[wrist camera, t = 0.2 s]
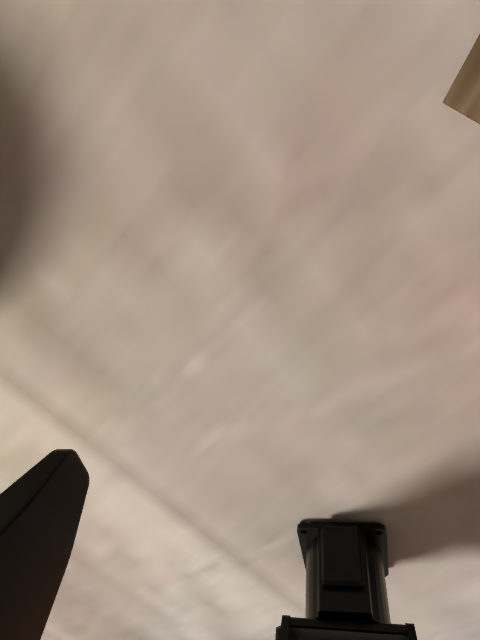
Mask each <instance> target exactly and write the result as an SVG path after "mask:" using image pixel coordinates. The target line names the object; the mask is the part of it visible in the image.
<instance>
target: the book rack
mask: <svg viewBox="0 0 480 640" xmlns="http://www.w3.org/2000/svg"><path fill="white" fill-rule="evenodd" d="M443 103H444V104H446V105H448V106H449V107H451V108H453V109H454V110H456V111H458V112H460V113H461V114H463V115H465V116H466V117H468V118H470V119H472V120H473V121H475V122H477V123H479V124H480V35H479V36H478V38H477V40H476V42H475V44H474V46H473V48H472V49H471V51H470V53H469V55H468V57H467V59H466V60H465V62H464V64H463V66H462V68H461V70H460V72H459V73H458V75H457V77H456V79H455V81H454V83H453V84H452V86H451V88H450V90H449V92H448V94H447V96H446V97H445V99H444V101H443Z"/></svg>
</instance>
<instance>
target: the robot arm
mask: <svg viewBox="0 0 480 640" xmlns="http://www.w3.org/2000/svg"><path fill="white" fill-rule="evenodd" d="M88 487H89V474H88V472H87V470H86V468H85V466H84V465H83V463H82V461H81V459H80V458H79V456H78V454H77V453H76V451H74V450H73V449H57V450H54V451H52V452H51V453H49V454H48V455H47V456H46V457H45V458H43V459H42V460H41V461H40V462H38V463H37V464H36V465H35V466H34V467H32V468H31V469H30V470H29V471H28V472H26V473H25V474H24V475H23V476H22V477H20V478H19V479H18V480H17V481H16V482H14V483H13V484H12V485H11V486H10V487H8V488H7V489H6V490H5V491H4V492H2V493H1V494H0V640H40V639H41V636H42V634H43V631H44V628H45V625H46V622H47V620H48V617H49V614H50V611H51V609H52V606H53V603H54V600H55V598H56V595H57V592H58V589H59V587H60V584H61V581H62V578H63V576H64V573H65V570H66V567H67V564H68V561H69V558H70V555H71V551H72V548H73V545H74V541H75V537H76V533H77V529H78V525H79V521H80V518H81V514H82V510H83V506H84V502H85V498H86V494H87V490H88ZM297 533H298V537H299V542H300V546H301V550H302V555H303V559H304V564H305V568H306V618H294V617H290V616H287V615H282V622H281V626H279V627H277V628H276V639H275V640H417V636H416V631H415V627H414V624H409V623H405V625H400V624H391V622H390V614H389V606H388V598H387V590H386V582H385V577H386V576H388V556H387V537H386V528H385V526H384V525H382V524H360V523H300V524H298V526H297Z"/></svg>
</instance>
